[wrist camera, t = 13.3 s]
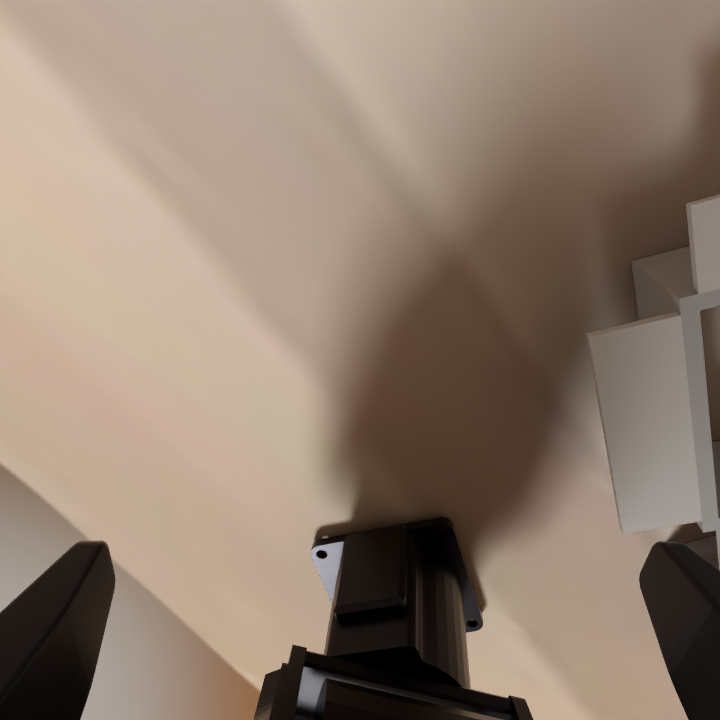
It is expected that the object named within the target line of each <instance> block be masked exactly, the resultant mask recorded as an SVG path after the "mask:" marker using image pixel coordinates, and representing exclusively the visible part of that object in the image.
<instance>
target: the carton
mask: <svg viewBox="0 0 720 720" xmlns="http://www.w3.org/2000/svg"><path fill="white" fill-rule="evenodd" d="M686 210H687V221H688V232H689V243H690V246H687V247H683V248H679V249H675V250H671V251H667V252H664V253H660V254H656V255H652V256H648V257H645V258H641V259H637V260H633V261H631V265H632V272H633V280H634V287H635V295H636V302H637V310H638V317H639V321H635V322H631V323H627V324H623V325H619V326H614V327H610V328H606V329H602V330H598V331H594V332H590V333H586V334H587V340H588V346H589V351H590V357H591V363H592V369H593V374H594V380H595V386H596V392H597V398H598V403H599V409H600V415H601V421H602V427H603V432H604V438H605V444H606V450H607V455H608V461H609V467H610V473H611V479H612V484H613V490H614V496H615V502H616V507H617V513H618V519H619V525H620V529H621V531H622V533H623V534H629V533H634V532H640V531H646V530H652V529H658V528H664V527H670V526H676V525H682V524H688V523H694V522H697V524H698V525H699V527H700V528H701V530H702V532H703V533H705V532H711V531H716V538H717V549H718V560H719V570H720V440H719V441H714V442H712V440H711V429H710V417H709V406H708V395H707V384H706V372H705V361H704V350H703V338H702V327H701V316H700V310H705V309H709V308H713V307H717V306H720V194H718V195H715V196H711V197H707V198H704V199H700V200H697V201H693V202H689V203H686Z"/></svg>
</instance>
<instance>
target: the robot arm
mask: <svg viewBox="0 0 720 720" xmlns="http://www.w3.org/2000/svg"><path fill="white" fill-rule="evenodd" d="M440 528H445V529H447V530H445V531H440V530H438V529H440ZM319 550H324V551H326V552H320V551H319ZM311 557H312V559H313V561H314V563H315V566H316V568H317V570H318V572H319V575H320V577H321V579H322V581H323V584H324V586H325V588H326V590H327V593H328V595H329V597H330V599H331V601H332V609H331V615H330V621H329V627H328V632H327V638H326V644H325V650H324V655H322V654H318V653H314V652H310V651H306V650H307V648H305V647H301V646H296V645H293V646H292V650H291V654H290V658H289V662H288V664H286V663H282V667H281V669H279V670H276V671H274V672H271V673H268V674H266V675H265V679H264V682H263V686H262V690H261V694H260V697H259V701H258V705H257V709H256V712H255V716H254V720H533V718H532V715H531V713H530V710H529V708H528V706H527V703H526V701H525V699H522V698H518V697H514V696H509V697H508V698H506V697H501V696H497V695H493V694H489V693H484V692H480V691H476V690H472V689H471V688H470V676H469V665H468V653H467V642H466V632H473V631H477V630H479V629H481V628H482V626H483V619H482V613H481V610H480V607H479V604H478V601H477V597H476V594H475V591H474V588H473V585H472V582H471V578H470V575H469V572H468V569H467V566H466V562H465V559H464V556H463V553H462V550H461V547H460V543H459V540H458V537H457V534H456V531H455V527H454V524H453V523H452V521H451V520H449V519H448V518H445V517H439V518H433V519H428V520H423V521H417V522H412V523H406V524H401V525H396V526H390V527H385V528H380V529H374V530H369V531H363V532H358V533H353V534H347V535H342V536H337V537H331V538H326V539H320V540H317V541H315V542H314V543H313V546H312V550H311ZM639 581H640V588H641V591H642V594H643V597H644V600H645V603H646V606H647V609H648V612H649V615H650V618H651V621H652V624H653V627H654V630H655V633H656V636H657V639H658V643H659V646H660V649H661V652H662V655H663V658H664V661H665V664H666V666H667V669H668V672H669V675H670V677H671V680H672V682H673V685H674V687H675V689H676V692H677V694H678V697H679V699H680V701H681V703H682V706H683V708H684V710H685V712H686V715H687V717H688V719H689V720H720V570H719V569H717V568H716V567H715V566H713V565H712V564H711V563H709V562H708V561H707V560H705V559H704V558H703V557H701V556H700V555H698V554H697V553H696V552H694V551H693V550H692V549H690V548H689V547H688V546H686V545H685V544H683V543H680V542H657V543H655V544H654V545H653V546H652V548H651V550H650V553H649V555H648V557H647V559H646V561H645V563H644V566H643V568H642V570H641V572H640V578H639ZM114 588H115V574H114V569H113V564H112V560H111V556H110V551H109V547H108V545H107V543H106V542H104V541H80V542H78V543H76V544H75V545H73V546H72V547H71V548H70V549H69V550H68V551H67V552H66V553H65V554H63V555H62V556H61V557H60V558H59V559H58V560H57V561H56V562H55V563H54V564H53V565H51V566H50V567H49V568H48V569H47V570H46V571H45V572H44V573H43V574H42V575H41V576H40V577H39V578H37V579H36V580H35V581H34V582H33V583H32V584H31V585H30V586H29V587H28V588H27V589H25V590H24V591H23V592H22V593H21V594H20V595H19V596H18V597H17V598H16V599H14V600H13V601H12V602H11V603H10V604H9V605H8V606H7V607H6V608H5V609H4V610H2V611H1V612H0V720H80V718H81V716H82V713H83V710H84V707H85V704H86V701H87V698H88V695H89V692H90V689H91V685H92V681H93V677H94V673H95V669H96V665H97V661H98V657H99V652H100V648H101V643H102V640H103V635H104V631H105V627H106V622H107V619H108V614H109V610H110V606H111V601H112V598H113V593H114Z"/></svg>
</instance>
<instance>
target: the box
mask: <svg viewBox="0 0 720 720" xmlns="http://www.w3.org/2000/svg"><path fill="white" fill-rule="evenodd" d="M683 544H685V545H686V546H688V547H689V548H690V549H692V550H693V551H694V552H696V553H697V554H698V555H700V556H701V557H703V558H704V559H705V560H707V561H708V562H709V563H711V564H712V565H713V566H715V567H716V568H717V569H719V560H718V549H717V538H716V535H715V536H711V537H707V538H703V539H699V540H695V541H691V542H687V543H683Z"/></svg>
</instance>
